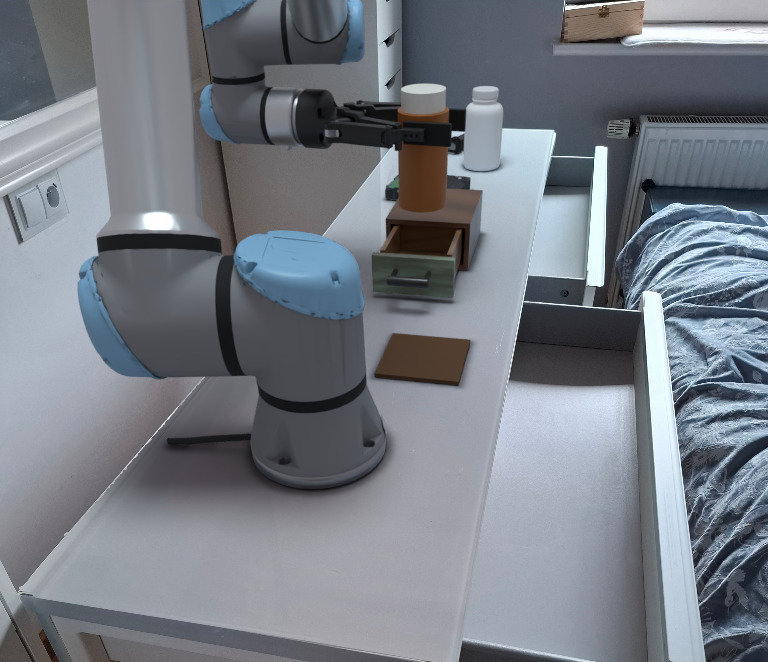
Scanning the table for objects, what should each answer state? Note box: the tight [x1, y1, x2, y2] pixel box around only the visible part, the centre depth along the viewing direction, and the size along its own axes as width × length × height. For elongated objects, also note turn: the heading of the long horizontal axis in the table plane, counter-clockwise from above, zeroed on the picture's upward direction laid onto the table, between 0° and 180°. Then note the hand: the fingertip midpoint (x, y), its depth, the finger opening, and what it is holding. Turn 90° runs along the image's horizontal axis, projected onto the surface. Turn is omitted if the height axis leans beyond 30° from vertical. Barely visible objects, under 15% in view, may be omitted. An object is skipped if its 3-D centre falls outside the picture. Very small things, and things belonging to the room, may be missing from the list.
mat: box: [374, 332, 471, 386], centre depth 96 cm, size 11×11×1 cm
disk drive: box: [384, 174, 471, 201], centre depth 143 cm, size 10×3×15 cm
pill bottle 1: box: [397, 83, 450, 213], centre depth 100 cm, size 7×7×15 cm
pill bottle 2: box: [462, 85, 504, 172], centre depth 151 cm, size 8×8×15 cm
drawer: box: [370, 224, 464, 299], centre depth 110 cm, size 19×12×6 cm, turn 167°
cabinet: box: [385, 189, 484, 271], centre depth 121 cm, size 16×14×8 cm
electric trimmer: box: [448, 133, 464, 155], centre depth 167 cm, size 4×16×3 cm, turn 142°
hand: (458, 127), depth 97 cm, fingers closed on pill bottle 1, 7 cm apart
